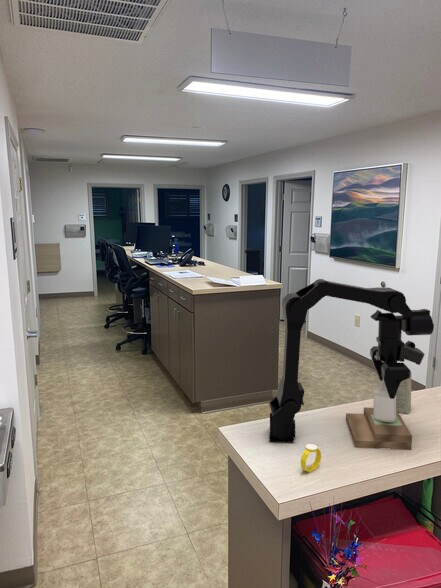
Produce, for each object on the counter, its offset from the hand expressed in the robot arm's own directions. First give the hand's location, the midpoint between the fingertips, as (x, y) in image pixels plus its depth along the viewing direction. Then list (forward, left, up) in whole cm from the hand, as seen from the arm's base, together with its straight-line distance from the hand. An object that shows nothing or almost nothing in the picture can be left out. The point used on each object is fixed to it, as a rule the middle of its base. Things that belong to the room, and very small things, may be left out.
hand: (387, 391), depth 118 cm
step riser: (-3, 0, -12) cm, 13 cm away
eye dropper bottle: (-1, 0, -8) cm, 8 cm away
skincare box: (+7, +16, -13) cm, 22 cm away
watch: (-22, -19, -13) cm, 31 cm away
